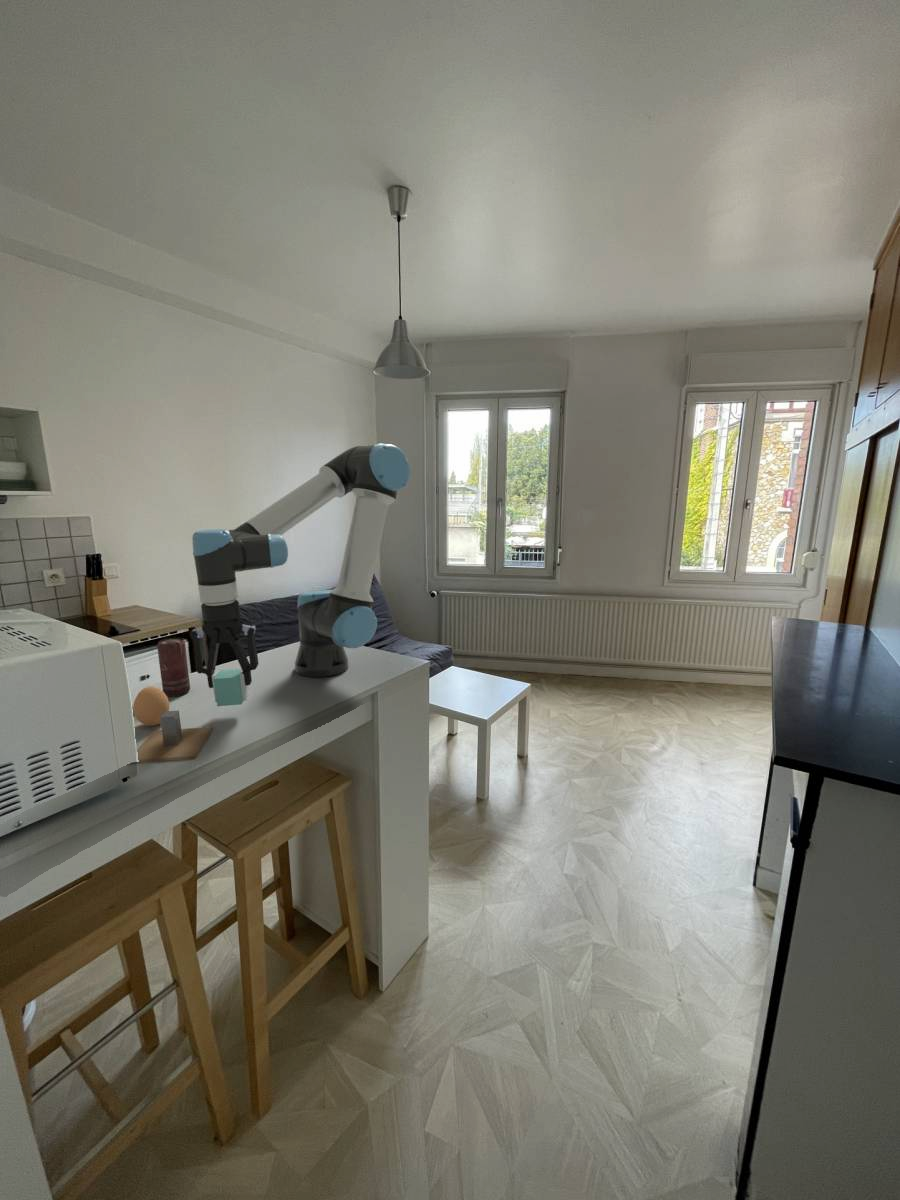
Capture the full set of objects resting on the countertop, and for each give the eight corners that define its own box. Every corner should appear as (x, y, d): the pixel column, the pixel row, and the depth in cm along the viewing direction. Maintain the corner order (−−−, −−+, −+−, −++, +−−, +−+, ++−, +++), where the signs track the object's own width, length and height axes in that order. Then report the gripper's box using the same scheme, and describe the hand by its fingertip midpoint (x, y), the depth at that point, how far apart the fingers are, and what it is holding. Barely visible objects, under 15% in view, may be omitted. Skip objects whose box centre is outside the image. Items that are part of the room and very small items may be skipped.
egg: (152, 716, 113) (147, 679, 111) (178, 719, 112) (173, 682, 110) (128, 730, 107) (122, 691, 104) (155, 733, 105) (150, 694, 103)
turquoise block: (247, 694, 116) (243, 668, 114) (241, 704, 111) (238, 677, 109) (223, 696, 115) (220, 670, 113) (217, 706, 110) (213, 678, 108)
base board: (213, 729, 107) (213, 726, 107) (194, 758, 96) (194, 756, 96) (154, 733, 105) (153, 730, 105) (127, 763, 94) (127, 760, 94)
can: (179, 698, 123) (173, 645, 119) (157, 696, 124) (150, 643, 121) (196, 688, 128) (191, 637, 125) (175, 686, 130) (169, 635, 126)
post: (182, 739, 102) (178, 710, 100) (177, 745, 99) (174, 716, 98) (168, 739, 101) (165, 711, 100) (163, 746, 99) (160, 717, 98)
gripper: (266, 595, 112) (276, 689, 118) (181, 599, 109) (195, 695, 115) (259, 603, 105) (270, 702, 111) (168, 607, 102) (184, 709, 108)
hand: (232, 698), depth 113 cm, fingers closed on turquoise block, 5 cm apart
